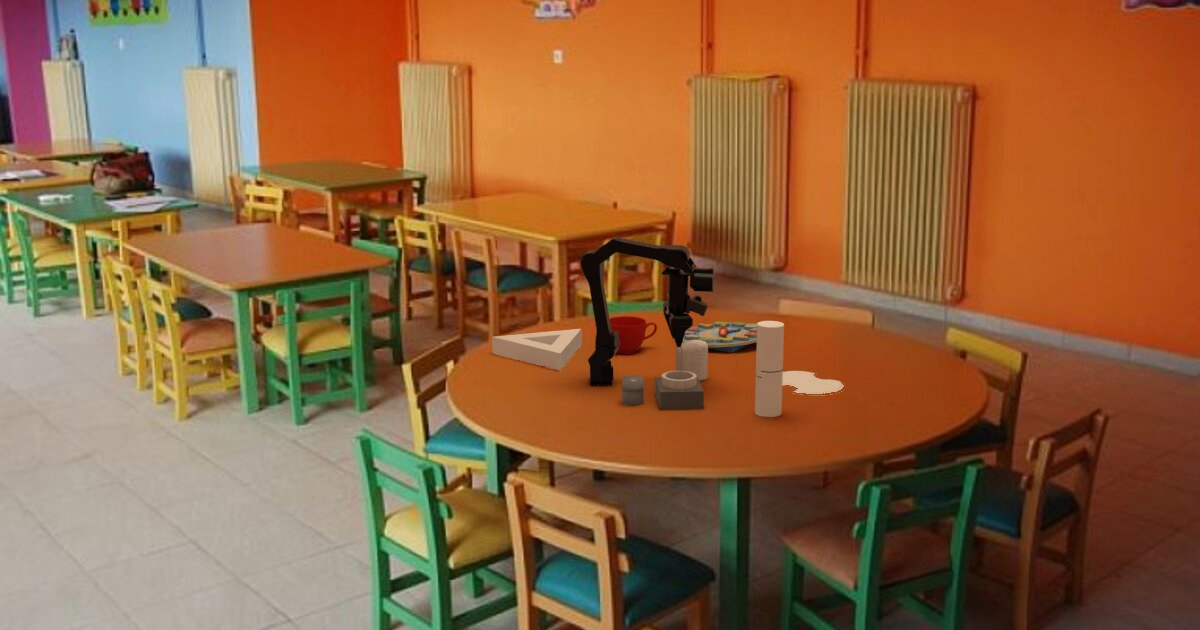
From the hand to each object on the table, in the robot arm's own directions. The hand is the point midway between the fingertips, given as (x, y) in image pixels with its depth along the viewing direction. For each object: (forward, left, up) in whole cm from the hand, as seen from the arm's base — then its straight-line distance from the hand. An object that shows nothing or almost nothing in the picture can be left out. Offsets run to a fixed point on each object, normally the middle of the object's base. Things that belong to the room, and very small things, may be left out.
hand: (676, 342), depth 348 cm
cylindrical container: (+22, -25, -14) cm, 36 cm away
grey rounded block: (-14, -13, -13) cm, 23 cm away
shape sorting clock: (+21, +49, -14) cm, 55 cm away
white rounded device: (+5, +6, -14) cm, 16 cm away
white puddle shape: (+38, +1, -14) cm, 41 cm away
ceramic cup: (-10, +40, -14) cm, 43 cm away
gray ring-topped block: (-1, -13, -13) cm, 19 cm away
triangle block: (-37, +31, -14) cm, 50 cm away
